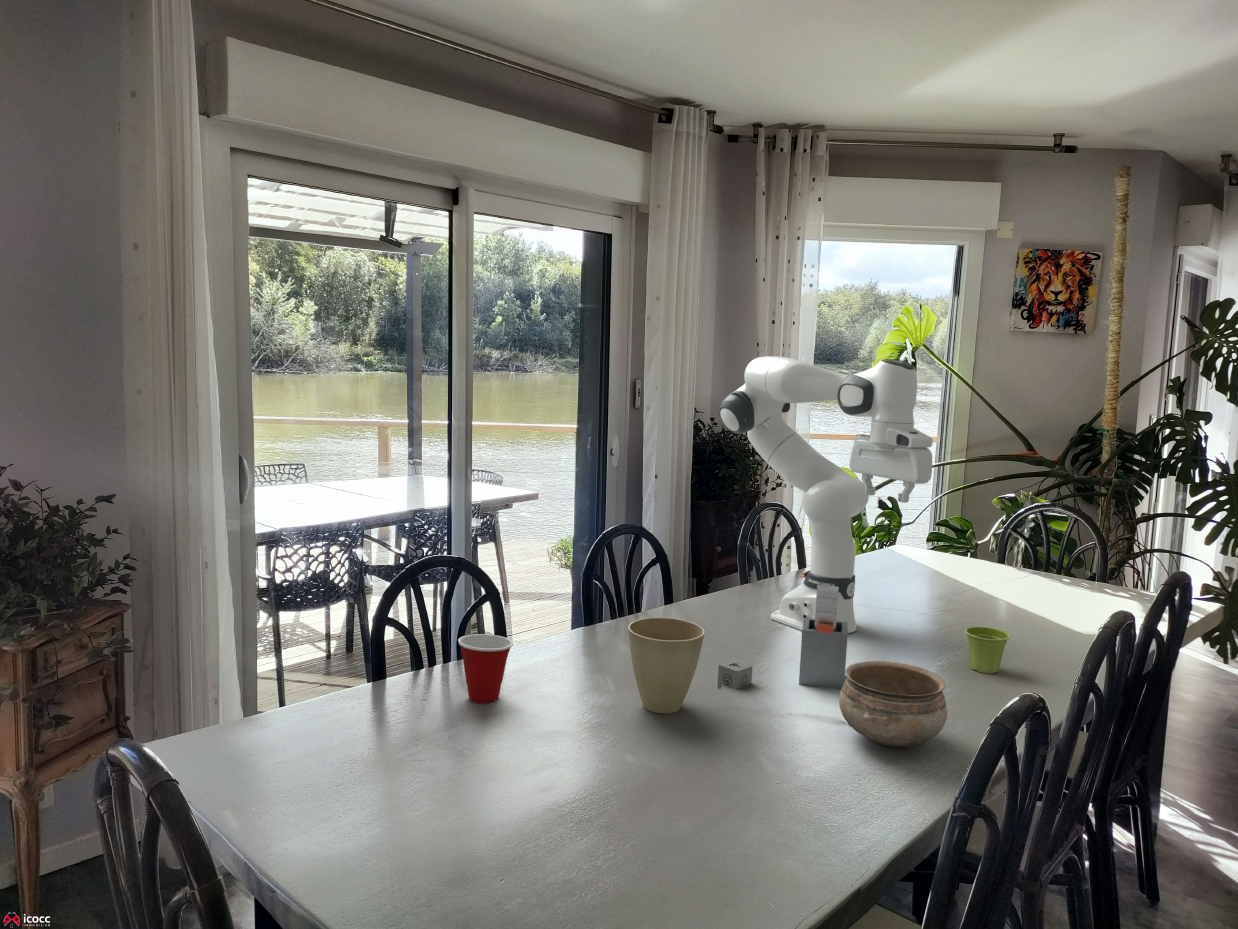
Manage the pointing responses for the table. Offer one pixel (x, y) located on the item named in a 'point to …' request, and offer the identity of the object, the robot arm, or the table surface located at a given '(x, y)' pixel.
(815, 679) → the sleeve
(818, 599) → the column
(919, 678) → the cooking pot
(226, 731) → the table surface
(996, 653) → the plant pot
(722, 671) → the dice cube
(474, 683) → the plastic cup
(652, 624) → the plant pot
